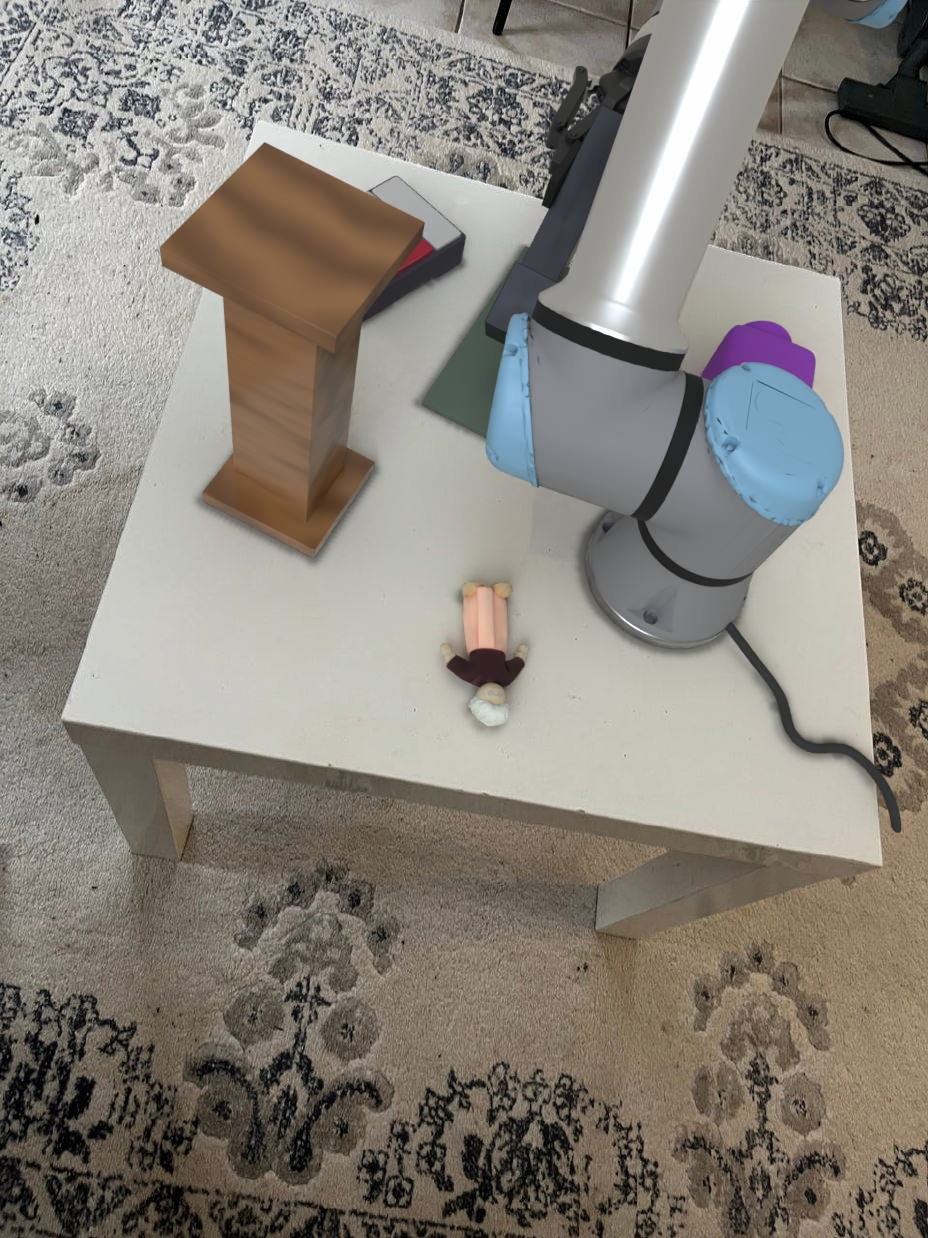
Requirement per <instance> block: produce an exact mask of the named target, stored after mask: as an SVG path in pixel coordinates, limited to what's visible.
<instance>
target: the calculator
mask: <svg viewBox="0 0 928 1238" xmlns="http://www.w3.org/2000/svg"><path fill="white" fill-rule="evenodd" d="M365 192H366V193H368V194H370V195H372V196H374V197H376V198H378V199H380V200H382V201H384V202H386V203H388V204H390V205H392V206H394V207H396V208H398V209H400V210H402V211H404V212H406V213H408V214H410V215H412V216H414V217H416V218H418V219H420V220H422V221H424V222H425V225H424V231H423V236H422V240H421V242H420V243H419V244H418V246H417V247H416V248H415V250H414V251H413V252H412V254H411V255H410V256H409V257H408V259H407V260H406V261H405V263H404V264H403V265H402V267H401V268H400V269H399V270H398V272H397V273H396V274H395V276H394V277H393V278H392V280H391V281H390V282H389V284H388V285H387V286H386V287H385V289H384V290H383V291H382V293H381V294H380V295H379V297H378V298H377V299H376V301H375V302H374V303H373V304H372V306H371V307H370V308H369V310H368V311H367V312H366V314H365V315H364V316H363V317H362V322H364V321H365V320H368V319H369V318H371V317H372V316H374V315H375V314H377V313H378V312H379V311H380V312H381V310H383V309H385V308H386V307H388V306H389V305H391V304H392V303H394V302H395V301H397V300H399V299H400V298H403V296H405V295H407V294H408V293H410V292H411V291H413V290H414V289H416V288H418V287H419V286H421V285H422V284H424V283H426V282H427V281H429V280H430V279H431V278H439V277H441V276H443V275H444V274H446V273H448V272H449V271H450V270H452V269H454V268H455V267H456V266H458V265H460V264H461V263H462V260H463V255H464V250H465V245H466V240H467V235H466V234H465V233H464V232H463V231H462V230H460V229H459V228H458V227H457V226H456V225H455V224H454V223H453V222H451V221H450V219H448V218H447V217H446V216H444V215H443V214H442V213H441V212H440V211H439V210H438V209H436V208H435V206H433V205H432V204H431V203H430V202H429V201H428V200H426V199H425V198H424V197H423V196H422V195H421V194H420V193H418V192H417V191H416V190H415V189H414V188H413V187H412V186H410V185H409V184H408V183H407V182H406V181H405V180H403V179H402V178H401V177H400V176H398V175H394V176H391V177H389V178H387V179H386V180H384V181H382V182H381V183H379V184H377V185H376V186H375V185H374V186H373V187H371V188H370V189H368V190H367V191H365Z"/></svg>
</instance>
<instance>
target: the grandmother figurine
mask: <svg viewBox="0 0 928 1238" xmlns="http://www.w3.org/2000/svg"><path fill="white" fill-rule="evenodd" d="M513 589H514V587H513V585H512V584H510V583H507V582H497V583H495V584H493V585H491V587H488V586H485V583H483V582H480V581H468V582H465V583H463V584H462V586H461V595H462V598H463V601H462V606H463V607H462V609H463V614H462V615H463V616H462V621H463V622H462V623H463V632H464V643H465V648H466V652H467V655H468V657H469V660H467V659H465V658H464V657H462V656H461V655H457V653H456V652H455V651H454V650H453V647H452V645H451V644H450V643H449V642H443V643H441V644H440V646H439V651H440V653H441V654H442V655H443V659H444V661H445V663H446V668H447V669H448V670H450V672H452V673H453V674H454V675H455V676H456V677H458V678H459V679H460V680H462V681H463V682H466V683H467V684H468V683H469V684H471V685H472V686H473V687H477V688H478V689H477V690H476V692H475V695H474V696H473V697H472V698H471V699H470V701H469V704H467V706H468V708H469V709H470V711H471V713H472V715H473V716H474V717H475V718H476V720H478V721H480V722H481V723H482V724H483V725H485V726H487V727H495V726H501V725H504V724H505V723H506V722H507V721H508V719H509V718H510V716H511V707H510V704H509V702H508V697H507V693H506V691H505V688H507V687H508V686H510V685H511V684H512V683H513V682H514V681H515V680H516V679H517V678H518V676H519V675H520V673H521V672H522V671H523V669H524V668H525V666H526V661H527V659H528V658H527V656H528V654H529V652H530V647H529V646H528V644H525V643H521V644H519V645H518V647H517V648H516V652H515V654H514V656H513V658H510V659H506V655H507V652H508V650H509V649H508V648H509V647H508V646H509V634H508V607H507V606H508V605H507V600H506V598H508V597H509V596H510V595H512V592H513Z"/></svg>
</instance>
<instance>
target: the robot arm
mask: <svg viewBox="0 0 928 1238" xmlns="http://www.w3.org/2000/svg"><path fill="white" fill-rule="evenodd" d="M656 1H657V2H656V4H655V6H654V8H653V10H652V11H651V13H650V15H649V16H648V18H647V19H646V21H645V22H644V24H643V25H642V26H641V28H640V29H639V30H638V32H637V33H636V35H635V36H634V38H633V39H632V40H631V41H630V43H629V45H628V46H627V48H626V49H625V50H624V52H623V53H622V54H621V56H620V58H619V59H618V61H617V62H616V63H615V65H614V66H613V68H612V69H611V71H609V72H606V73H604V74H602V75H601V76H600V78H597V77H593V76H590V75H589V72H588V69H587V67H585V66H583V65H576V66H575V69H574V72H573V75H572V79H571V81H570V86H569V89H568V91H567V93H566V95H565V97H564V98H563V101H562V102H561V104H560V106H558V109H557V110H556V112H555V114H554V116H553V117H552V119H551V122H550V126H549V129H548V132H547V136H546V140H545V142H544V143H545V144H544V146H545V147H546V149H549V150H551V151H552V150H553V151H554V153H553V154H552V156H551V159H550V162H549V165H548V168H547V174H549V175H550V177H549V180H548V183H547V186H546V189H545V192H544V195H543V199H542V202H541V206H542V207H544V208H546V209H548V210H549V208H550V206H551V204H552V202H553V200H554V198H555V196H556V194H557V192H558V190H559V188H560V186H561V184H562V182H563V180H564V178H565V176H566V174H567V173H568V171H569V169H570V167H571V165H572V163H573V161H574V159H575V157H576V155H577V153H578V151H579V149H580V147H581V145H582V143H583V141H584V139H585V137H586V135H587V133H588V131H589V129H590V127H591V125H592V123H593V121H594V120H595V118H596V116H597V114H598V112H599V110H600V108H601V106H602V105H603V106H605V107H607V108H609V109H611V110H613V111H615V112H618V113H620V114H622V115H623V118H622V121H621V124H620V127H619V130H618V132H617V135H616V138H615V141H614V144H613V147H612V150H611V153H610V155H609V158H608V161H607V164H606V167H605V170H604V173H603V175H602V178H601V181H600V184H599V187H598V190H597V193H596V196H595V198H594V201H593V204H592V207H591V210H590V213H589V216H588V218H587V221H586V224H585V227H584V230H583V233H582V236H581V239H580V241H579V244H578V247H577V250H576V252H575V254H574V256H573V258H572V260H571V263H570V267H569V268H570V270H569V273H568V275H567V276H566V277H565V278H564V279H563V280H562V281H561V282H559V283H557V284H555V285H553V286H552V287H550V288H548V289H546V290H544V291H542V292H540V293H539V296H538V299H537V302H536V305H535V308H534V311H533V314H532V316H531V317H530V316H529V314H527V313H522V314H514V315H513V316H512V317H511V319H510V322H509V326H508V330H507V334H506V339H505V345H504V349H503V354H502V359H501V363H500V367H499V372H498V377H497V382H496V387H495V392H494V397H493V402H492V408H491V413H490V419H489V425H488V430H487V437H485V454H486V457H487V459H488V461H489V463H490V464H491V465H492V466H493V467H494V468H495V469H496V470H498V471H499V472H503V473H505V474H507V475H510V476H512V477H515V478H517V479H519V480H522V481H525V482H526V483H527V482H528V483H530V484H531V486H532V487H534V488H540V487H541V488H544V489H546V490H550V491H553V492H555V493H558V494H562V495H565V496H566V497H567V496H568V497H570V498H574V499H576V500H579V501H582V502H585V503H588V504H591V505H593V506H597V507H600V508H603V509H607V510H608V512H607V513H606V514H605V515H604V516H603V518H601V520H600V521H599V522H598V523H597V525H596V527H595V529H594V530H593V532H592V534H591V536H590V538H589V541H588V543H587V546H586V550H585V551H586V552H585V560H584V561H585V562H584V563H585V572H586V578H587V582H588V585H589V588H590V590H591V593H592V595H593V597H594V598H595V600H596V602H597V604H598V605H599V606H600V608H601V609H602V611H603V612H604V613H605V614H606V616H608V618H609V619H610V620H612V622H613V623H614V624H616V625H617V626H618V627H619V628H621V629H622V630H623V631H625V632H626V633H628V634H629V635H631V636H632V637H634V638H636V639H638V640H640V641H642V642H645V643H648V644H651V645H653V646H658V647H661V648H668V649H688V648H689V649H690V648H695V647H699V646H702V645H705V644H707V643H709V642H711V641H713V640H715V639H716V638H717V637H719V636H721V634H722V633H724V632H725V631H726V632H727V634H728V635H729V637H730V638H732V641H733V642H734V643H735V644H736V646H737V647H738V649H739V650H740V651H741V653H742V654H743V655H744V656H745V658H746V659H747V660H748V662H749V663H750V664H751V666H752V667H753V668H754V670H755V671H756V672H757V673H758V675H759V676H760V677H761V678H762V680H764V682H765V684H766V685H767V686H768V687H769V689H770V691H771V693H772V695H773V696H774V698H775V700H776V702H777V705H778V708H779V709H778V710H779V713H780V714H779V715H780V718H781V722H782V725H783V729H784V731H785V733H786V735H787V736H788V738H789V739H790V740H791V742H792V743H794V745H795V746H797V747H798V748H800V749H801V750H803V751H805V752H807V753H811V754H841V755H845V756H847V757H849V758H851V759H853V760H854V761H855V762H856V763H857V764H858V765H860V766H861V767H862V768H863V769H864V770H865V771H866V772H867V774H868V775H869V776H870V777H871V779H872V780H873V781H874V782H875V784H876V786H877V788H878V790H879V791H880V793H881V795H882V797H883V800H884V803H885V805H886V808H887V811H888V815H889V816H888V817H889V820H890V827H891V829H892V831H893V832H894V833H895V834H900V833H901V832H902V818H901V812H900V809H899V805H898V802H897V799H896V797H895V794H894V792H893V790H892V788H891V786H890V784H889V783H888V781H887V780H886V778H885V776H884V775H883V774H882V772H881V771H880V770H879V769H878V767H876V765H875V764H874V763H873V762H872V760H870V759H869V758H868V757H867V756H865V755H864V754H863V753H862V752H861V751H860V750H858V749H856V748H855V747H854V746H851V745H850V744H846V743H841V742H825V743H822V742H821V743H817V742H812V741H810V740H807V739H805V738H804V737H803V736H801V735H800V733H799V732H798V731H797V729H796V727H795V724H794V721H793V717H792V713H791V707H790V704H789V701H788V698H787V696H786V694H785V692H784V690H783V688H782V687H781V685H780V683H779V681H777V679H776V678H775V676H774V675H773V674H772V673H771V671H770V670H769V669H768V667H767V666H766V665H765V664H764V662H763V661H762V660H761V659H760V657H759V655H757V653H756V652H755V650H754V649H753V648H752V646H751V645H750V644H749V642H748V641H747V640H746V639H745V637H744V636H743V634H742V633H741V632H740V631H739V629H738V628H737V626H735V624H734V622H735V621H736V620H737V618H738V617H739V614H740V613H741V611H742V610H743V608H744V605H745V604H746V601H747V599H748V594H749V590H750V585H751V582H752V580H753V576H754V573H755V571H757V570H758V569H759V568H760V567H761V566H762V565H763V564H764V563H765V562H766V561H767V560H768V559H769V558H770V557H771V556H772V555H773V554H774V553H775V552H776V551H777V550H778V549H779V548H780V547H781V546H783V544H784V543H785V542H786V541H787V540H788V539H789V538H790V537H791V536H792V535H793V534H794V533H795V532H796V531H797V530H798V529H799V528H800V527H801V526H802V525H803V524H805V523H807V522H808V521H810V520H811V519H813V517H814V516H815V515H816V514H817V512H818V511H819V510H820V507H821V506H822V504H823V503H824V501H825V500H826V499H827V498H828V496H829V495H830V494H831V493H832V492H833V490H834V489H835V488H836V486H837V485H838V483H839V481H840V479H841V476H842V473H843V469H844V463H845V448H844V441H843V436H842V433H841V431H840V427H839V425H838V423H837V421H836V418H835V417H834V415H832V413H831V412H830V411H829V409H828V408H827V406H826V403H825V401H824V400H823V399H822V398H821V397H820V395H818V394H817V392H816V391H815V390H814V389H813V388H810V387H809V386H808V385H807V384H806V383H804V382H803V381H802V380H800V379H799V378H798V377H796V376H795V375H793V374H791V373H789V372H787V371H785V370H783V369H781V368H778V367H776V366H773V365H769V364H764V363H757V362H748V363H745V364H743V365H742V366H739V365H737V366H732V367H730V368H729V369H727V370H725V371H723V372H722V373H721V374H720V375H717V377H716V378H714V380H713V381H711V380H708V379H705V378H702V377H700V375H696V374H693V373H690V372H688V371H684V370H682V369H681V366H682V363H683V362H684V359H685V357H686V354H687V353H688V349H689V343H688V341H687V338H686V336H685V333H684V330H683V327H682V325H681V323H680V316H681V313H682V309H683V307H684V304H685V302H686V300H687V298H688V295H689V293H690V290H691V287H692V285H693V283H694V281H695V278H696V276H697V273H698V271H699V269H700V266H701V264H702V261H703V259H704V256H705V254H706V252H707V249H708V247H709V245H710V242H711V239H712V237H713V235H714V232H715V230H716V227H717V225H718V222H719V220H720V218H721V215H722V213H723V210H724V208H725V206H726V203H727V201H728V199H729V196H730V193H731V191H732V189H733V187H734V185H735V182H736V179H737V176H738V174H739V172H740V169H741V168H742V165H743V162H744V160H745V157H746V155H747V152H748V150H749V147H750V145H751V143H752V140H753V139H754V136H755V133H756V131H757V128H758V126H759V123H760V121H761V118H762V115H763V114H764V111H765V109H766V107H767V104H768V102H769V99H770V97H771V95H772V92H773V90H774V88H775V85H776V83H777V80H778V78H779V75H780V73H781V70H782V68H783V66H784V63H785V61H786V58H787V56H788V54H789V51H790V49H791V46H792V44H793V41H794V39H795V37H796V34H797V32H798V30H799V27H800V25H801V22H802V20H803V17H804V14H805V12H806V10H807V7H808V6H811V7H814V8H816V9H820V10H822V11H824V12H827V13H830V14H832V15H834V16H837V17H840V18H842V19H844V20H845V21H846V22H849V23H851V24H861V25H864V26H867V27H871V28H874V29H882V28H885V27H887V26H889V25H890V24H891V23H892V22H893V21H894V20H895V19H896V17H897V15H898V14H899V12H901V11H902V10H903V9H904V7H905V5H906V4H907V2H908V0H656ZM592 95H595V97H596V100H597V103H598V105H597V106H596V107H594V108H593V109H592V110H590V112H589V113H587V114H586V115H585V116H583V118H581V119H580V120H579V121H578V122H576V123H575V124H574V125H573V126H572V127H571V125H572V123H573V122H574V119H575V118H576V116H577V115H578V113H579V111H580V109H581V105H582V104H584V105H585V104H586V103H587V102H586V101H587V99H588V100H589V99H590V98H591V96H592Z"/></svg>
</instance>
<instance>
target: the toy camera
mask: <svg viewBox="0 0 928 1238" xmlns="http://www.w3.org/2000/svg"><path fill="white" fill-rule="evenodd" d="M710 357H711V358H710V359H709V360H708V362H707V364H706V365H705V367H704V369H703V370H702V372H701V374H700V375H699V377H702V378H705V379H708V380H711V381H713V380H714V378H716V377H717V375H720V374H721V373H722V372H723V371H725V370H727V369H729V368H730V367H732V366H737V365H739V366H742V365H743V364H745V363H748V362H757V363H764V364H769V365H773V366H776V367H778V368H781V369H783V370H785V371H787V372H789V373H791V374H793V375H795V376H796V377H798V378H799V379H800V380H802V381H803V382H804V383H806V384H807V385H808V386H809V387H810V388H812V389H813V387H814V381H815V375H816V374H815V373H816V362H817V361H816V355H815V353H813V351H812V350H810V349H808V348H806V347H804V346H802V345H800V344H797V343H794V342H793V340H792V337H791V334H790V333H789V331H788V330H787V329H786V328H785V327H783V326H782V325H780V324H779V323H776V322H773V321H770V320H754V321H753V320H752V321H750V322H746V323H743V324H736V325H734V326H733V327H731V328H730V329H729V330H728V332H727V333H726V334H725V336H724V337H723V338H722V340H721V341H720V343H719V345H718V346H717V347H716V349H715V351H714V353H713V354H712V356H710Z"/></svg>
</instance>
